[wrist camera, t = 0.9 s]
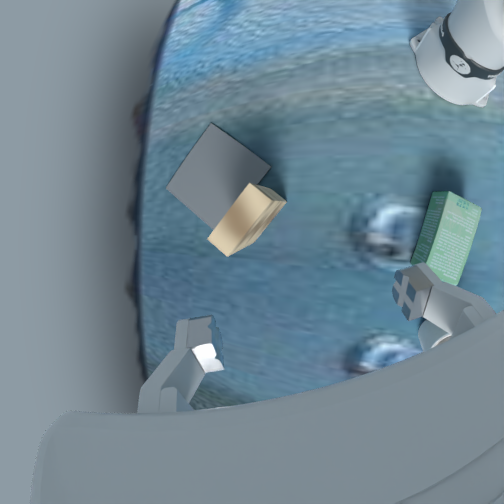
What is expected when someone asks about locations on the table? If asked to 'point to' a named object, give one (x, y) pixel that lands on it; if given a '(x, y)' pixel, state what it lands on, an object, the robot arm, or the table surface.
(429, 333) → the dixie cup
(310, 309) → the table surface
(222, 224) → the oak slab
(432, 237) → the box
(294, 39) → the table surface
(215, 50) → the table surface
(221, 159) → the mat
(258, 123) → the table surface
